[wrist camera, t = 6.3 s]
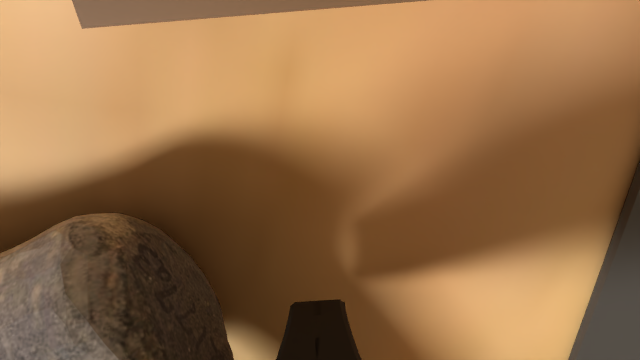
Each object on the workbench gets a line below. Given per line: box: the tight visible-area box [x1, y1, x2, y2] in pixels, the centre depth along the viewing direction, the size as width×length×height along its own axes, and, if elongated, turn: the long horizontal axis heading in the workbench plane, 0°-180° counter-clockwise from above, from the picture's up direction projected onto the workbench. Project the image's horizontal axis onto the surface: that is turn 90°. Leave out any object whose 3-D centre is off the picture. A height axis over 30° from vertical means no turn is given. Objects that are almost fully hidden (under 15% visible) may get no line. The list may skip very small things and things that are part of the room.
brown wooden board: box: [72, 0, 427, 29], centre depth 12 cm, size 17×10×2 cm, turn 4°
